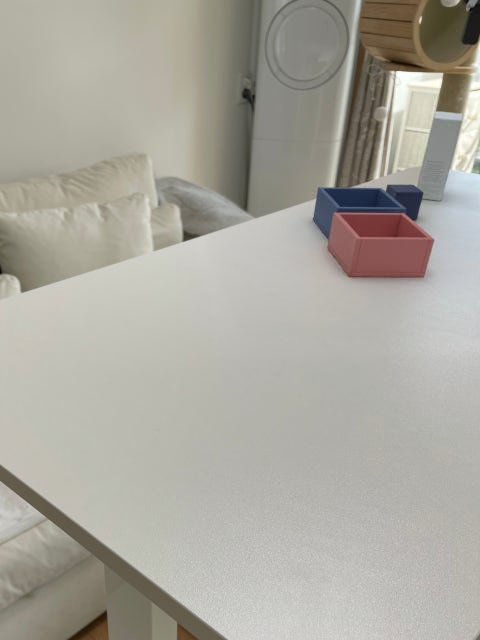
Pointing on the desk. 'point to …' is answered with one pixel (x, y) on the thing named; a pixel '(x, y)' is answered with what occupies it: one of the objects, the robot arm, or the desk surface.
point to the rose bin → (379, 245)
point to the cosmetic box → (439, 154)
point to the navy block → (407, 198)
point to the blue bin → (351, 204)
